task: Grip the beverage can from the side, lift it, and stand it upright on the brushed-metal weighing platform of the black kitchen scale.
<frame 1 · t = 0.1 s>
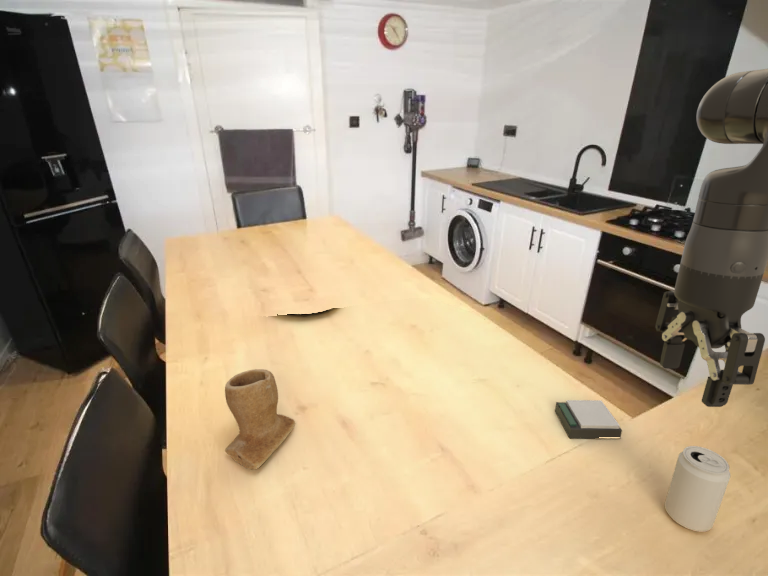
hand: (688, 384, 52), 28 cm above the table, tool pointing down, fingers open, 8 cm apart
scale: (585, 424, 87), on the table
beverage can: (687, 518, 66), on the table
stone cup: (258, 443, 85), on the table
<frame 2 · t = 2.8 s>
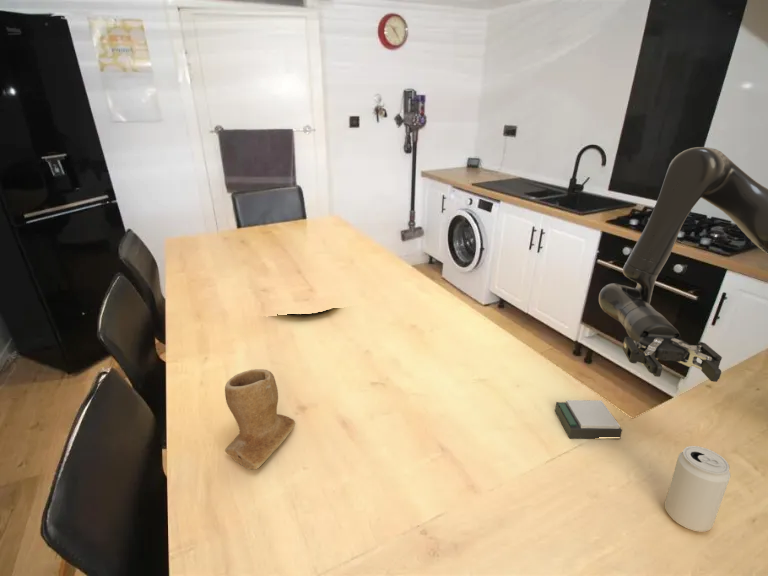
hand: (687, 374, 69), 20 cm above the table, tool horizontal, fingers open, 8 cm apart
nothing on the table moved.
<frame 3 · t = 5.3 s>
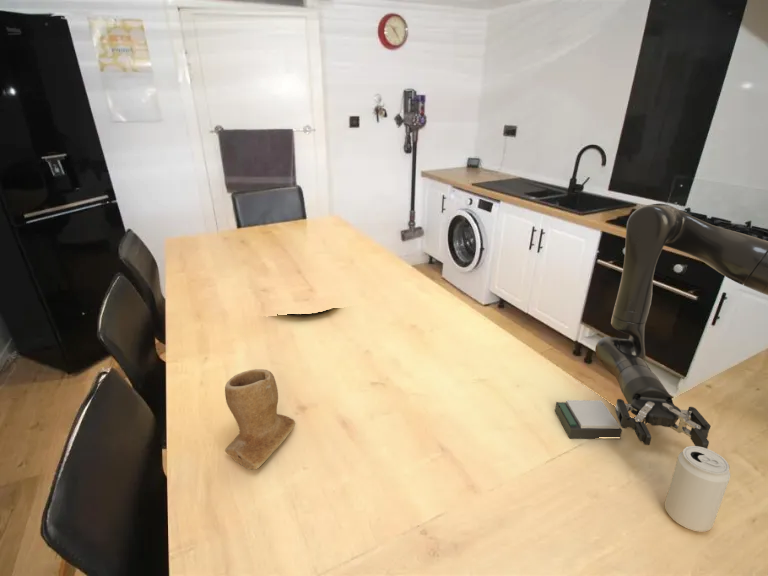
hand: (675, 444, 71), 8 cm above the table, tool horizontal, fingers open, 8 cm apart
nothing on the table moved.
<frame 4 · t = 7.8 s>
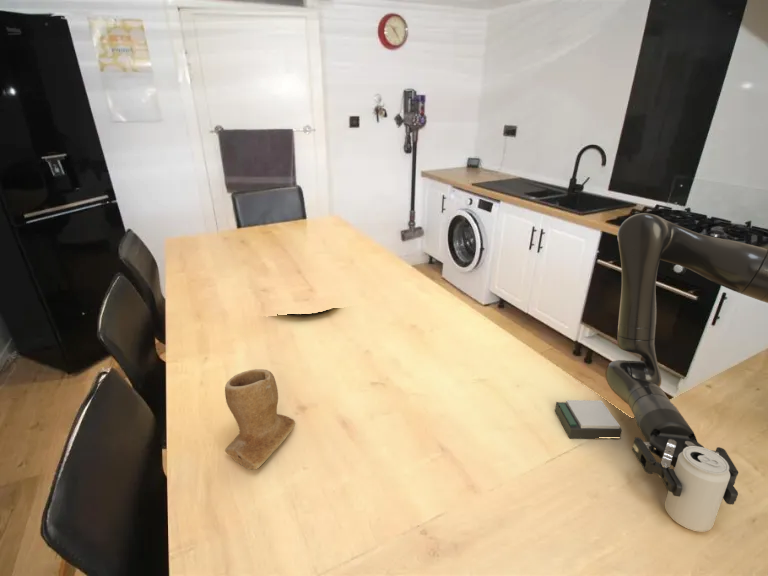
hand: (705, 495, 61), 7 cm above the table, tool horizontal, fingers closed on beverage can, 6 cm apart
beverage can: (687, 518, 66), on the table, touching gripper
everything else where it was.
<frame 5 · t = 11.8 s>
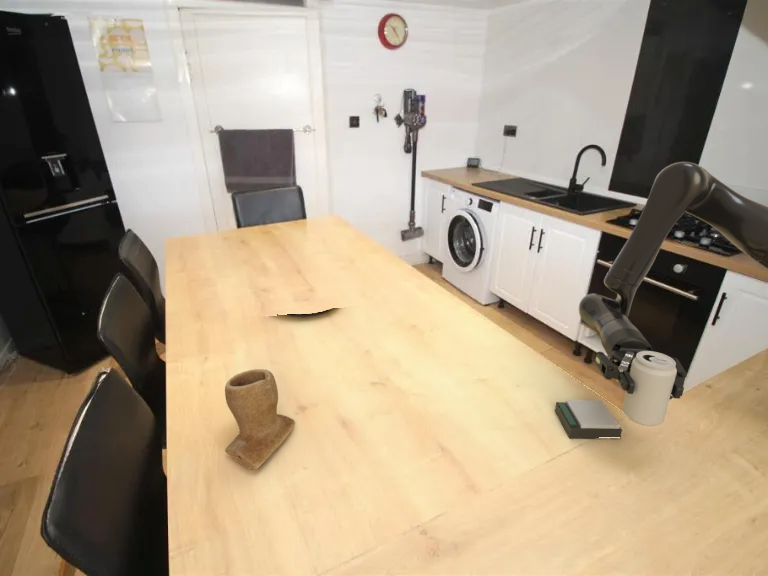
hand: (654, 391, 68), 18 cm above the table, tool horizontal, fingers closed on beverage can, 6 cm apart
beverage can: (641, 418, 73), point 10 cm above the table, touching gripper
everything else where it was.
when the fingers open (10 cm above the table, at t = 16.0 s): beverage can stays where it is, resting on scale.
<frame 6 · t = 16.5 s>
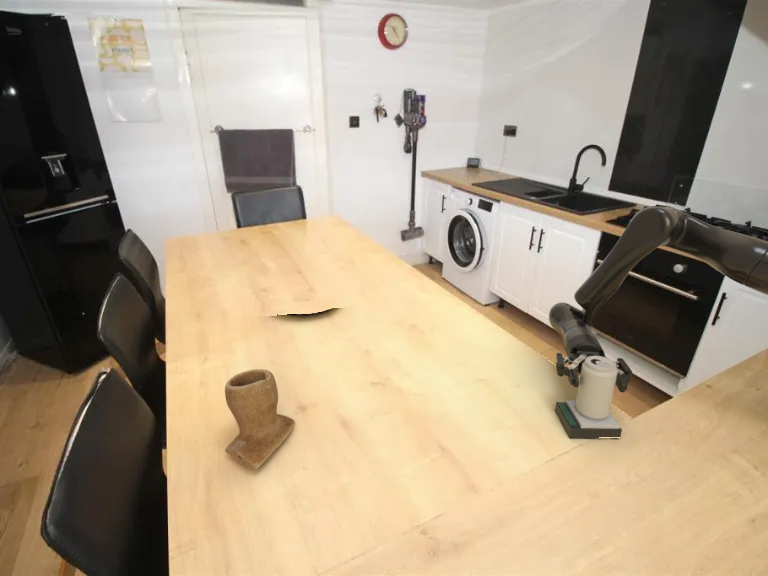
hand: (599, 386, 82), 11 cm above the table, tool horizontal, fingers open, 8 cm apart
beverage can: (591, 412, 86), point 3 cm above the table, touching scale
everything else where it was.
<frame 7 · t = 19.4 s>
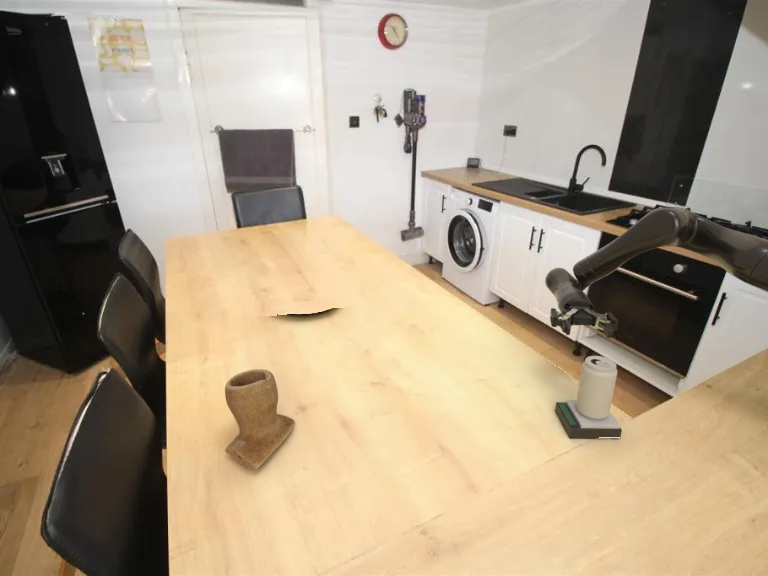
hand: (589, 332, 91), 16 cm above the table, tool horizontal, fingers open, 8 cm apart
nothing on the table moved.
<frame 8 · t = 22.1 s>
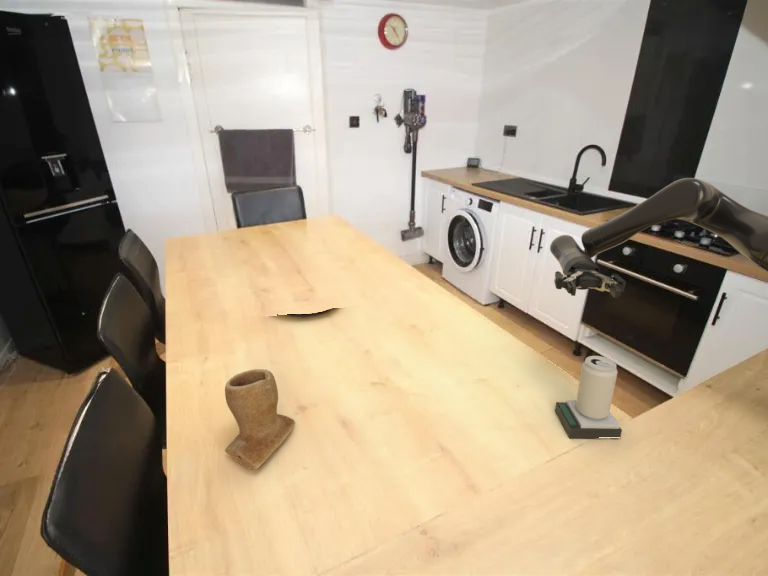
hand: (595, 292, 88), 26 cm above the table, tool horizontal, fingers open, 8 cm apart
nothing on the table moved.
at the end: beverage can inside the target area on the scale (0.1 cm from its centre), point 3.0 cm above the scale's base; beverage can tilted 0°; the gripper is holding nothing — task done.
